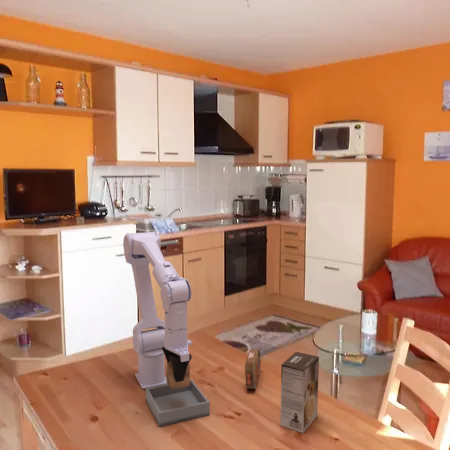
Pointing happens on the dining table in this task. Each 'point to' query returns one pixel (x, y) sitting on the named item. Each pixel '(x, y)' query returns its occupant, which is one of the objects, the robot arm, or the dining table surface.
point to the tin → (252, 369)
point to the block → (171, 380)
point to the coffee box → (299, 391)
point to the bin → (177, 403)
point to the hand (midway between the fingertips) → (176, 377)
